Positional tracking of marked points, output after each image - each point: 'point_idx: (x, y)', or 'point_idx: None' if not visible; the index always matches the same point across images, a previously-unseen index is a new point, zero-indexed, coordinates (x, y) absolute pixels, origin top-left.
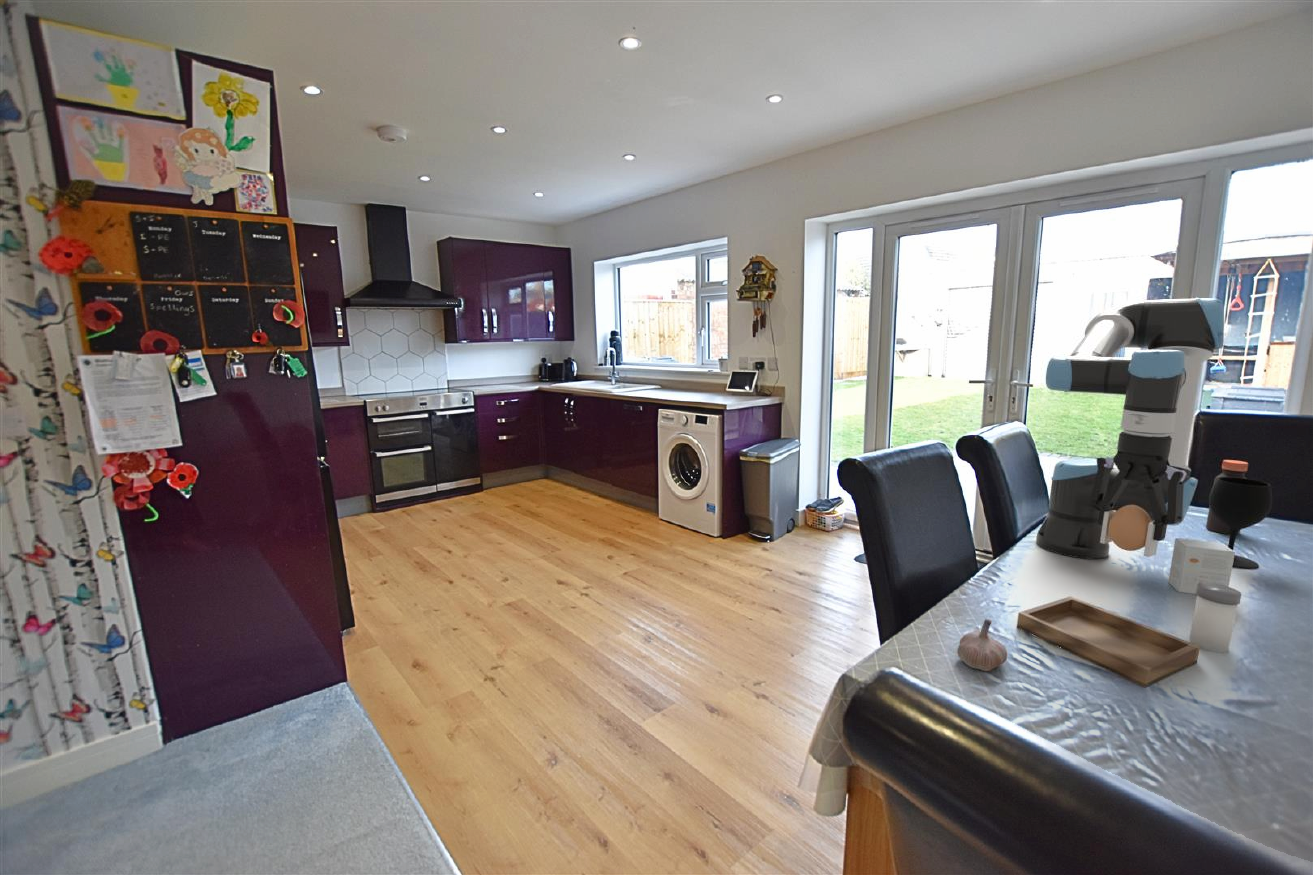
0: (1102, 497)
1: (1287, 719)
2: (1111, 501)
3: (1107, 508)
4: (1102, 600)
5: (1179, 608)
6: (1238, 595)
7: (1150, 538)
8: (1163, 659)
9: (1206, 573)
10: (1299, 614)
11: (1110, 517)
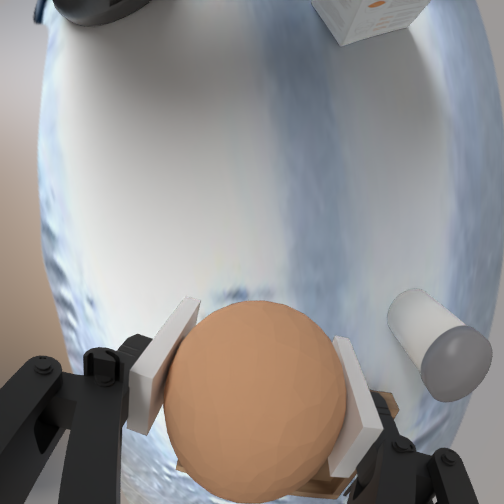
0: (45, 403)
1: (447, 438)
2: (120, 469)
3: (122, 424)
4: (234, 242)
5: (362, 153)
6: (484, 375)
7: None
8: (352, 473)
9: (392, 13)
10: (484, 36)
11: (158, 401)
